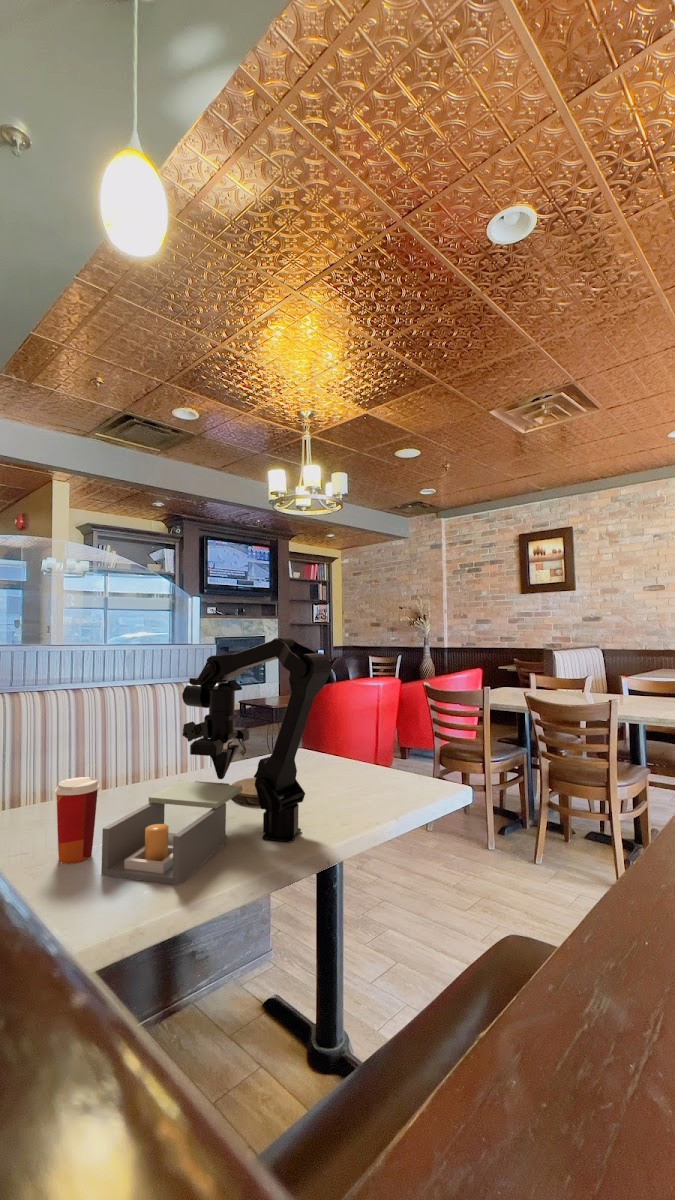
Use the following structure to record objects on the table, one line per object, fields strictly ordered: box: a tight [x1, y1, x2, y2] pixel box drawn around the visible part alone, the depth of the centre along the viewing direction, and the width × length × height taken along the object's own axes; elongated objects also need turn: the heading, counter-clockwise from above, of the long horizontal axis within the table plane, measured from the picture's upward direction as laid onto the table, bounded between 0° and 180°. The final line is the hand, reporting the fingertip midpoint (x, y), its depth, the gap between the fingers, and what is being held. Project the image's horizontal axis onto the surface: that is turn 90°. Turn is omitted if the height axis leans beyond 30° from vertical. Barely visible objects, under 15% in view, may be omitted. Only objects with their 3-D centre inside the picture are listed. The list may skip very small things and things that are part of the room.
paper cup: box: [54, 776, 100, 865], centre depth 102 cm, size 8×8×14 cm
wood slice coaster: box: [230, 776, 284, 807], centre depth 139 cm, size 16×16×3 cm
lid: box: [148, 780, 242, 809], centre depth 113 cm, size 15×13×3 cm
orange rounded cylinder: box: [145, 823, 170, 861], centre depth 97 cm, size 4×4×6 cm
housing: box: [100, 802, 227, 886], centre depth 101 cm, size 15×18×8 cm
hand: (220, 778), depth 123 cm, fingers closed
